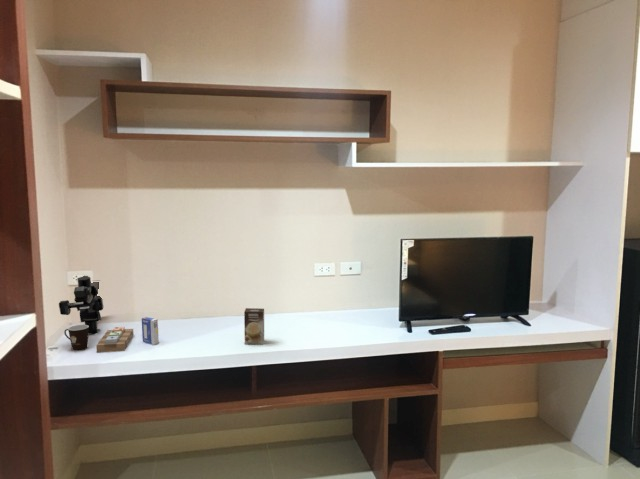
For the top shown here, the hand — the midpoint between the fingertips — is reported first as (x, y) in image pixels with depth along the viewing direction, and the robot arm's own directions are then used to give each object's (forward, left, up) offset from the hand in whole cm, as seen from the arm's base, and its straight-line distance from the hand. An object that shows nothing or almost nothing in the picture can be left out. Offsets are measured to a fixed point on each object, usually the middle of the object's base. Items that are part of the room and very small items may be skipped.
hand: (77, 312), depth 235 cm
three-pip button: (-5, +15, -15) cm, 22 cm away
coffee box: (+5, +80, -18) cm, 82 cm away
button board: (-5, +15, -17) cm, 23 cm away
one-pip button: (+2, +15, -15) cm, 21 cm away
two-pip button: (-12, +15, -15) cm, 24 cm away
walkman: (-4, +31, -18) cm, 36 cm away
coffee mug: (-3, -1, -18) cm, 18 cm away
